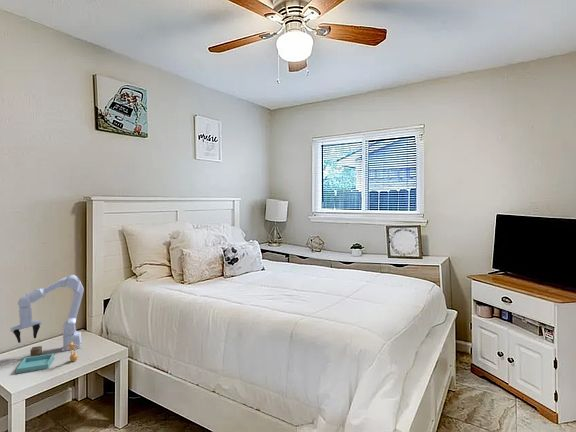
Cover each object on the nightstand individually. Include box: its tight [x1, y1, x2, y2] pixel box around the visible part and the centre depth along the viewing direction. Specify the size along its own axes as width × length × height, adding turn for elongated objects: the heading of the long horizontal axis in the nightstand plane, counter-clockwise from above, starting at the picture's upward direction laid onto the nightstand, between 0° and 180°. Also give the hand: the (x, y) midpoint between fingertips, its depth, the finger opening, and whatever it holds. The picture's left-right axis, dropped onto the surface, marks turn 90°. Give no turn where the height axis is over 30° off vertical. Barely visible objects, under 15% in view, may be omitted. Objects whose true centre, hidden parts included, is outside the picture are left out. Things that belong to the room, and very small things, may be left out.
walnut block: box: [29, 345, 43, 357], centre depth 206 cm, size 4×4×5 cm
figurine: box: [64, 341, 81, 362], centre depth 199 cm, size 8×6×12 cm
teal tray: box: [15, 353, 55, 375], centre depth 195 cm, size 14×14×2 cm
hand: (27, 340), depth 206 cm, fingers open, 7 cm apart
